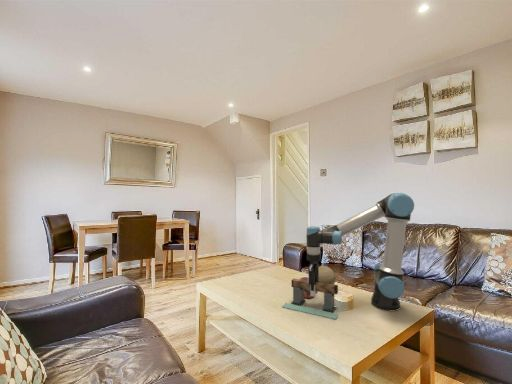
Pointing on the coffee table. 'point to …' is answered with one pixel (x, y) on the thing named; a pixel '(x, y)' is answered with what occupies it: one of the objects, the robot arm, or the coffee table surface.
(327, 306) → the post
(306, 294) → the mug
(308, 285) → the rail
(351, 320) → the coffee table surface
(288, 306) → the mat
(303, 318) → the coffee table surface
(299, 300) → the post
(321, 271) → the decorative ball
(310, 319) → the coffee table surface
